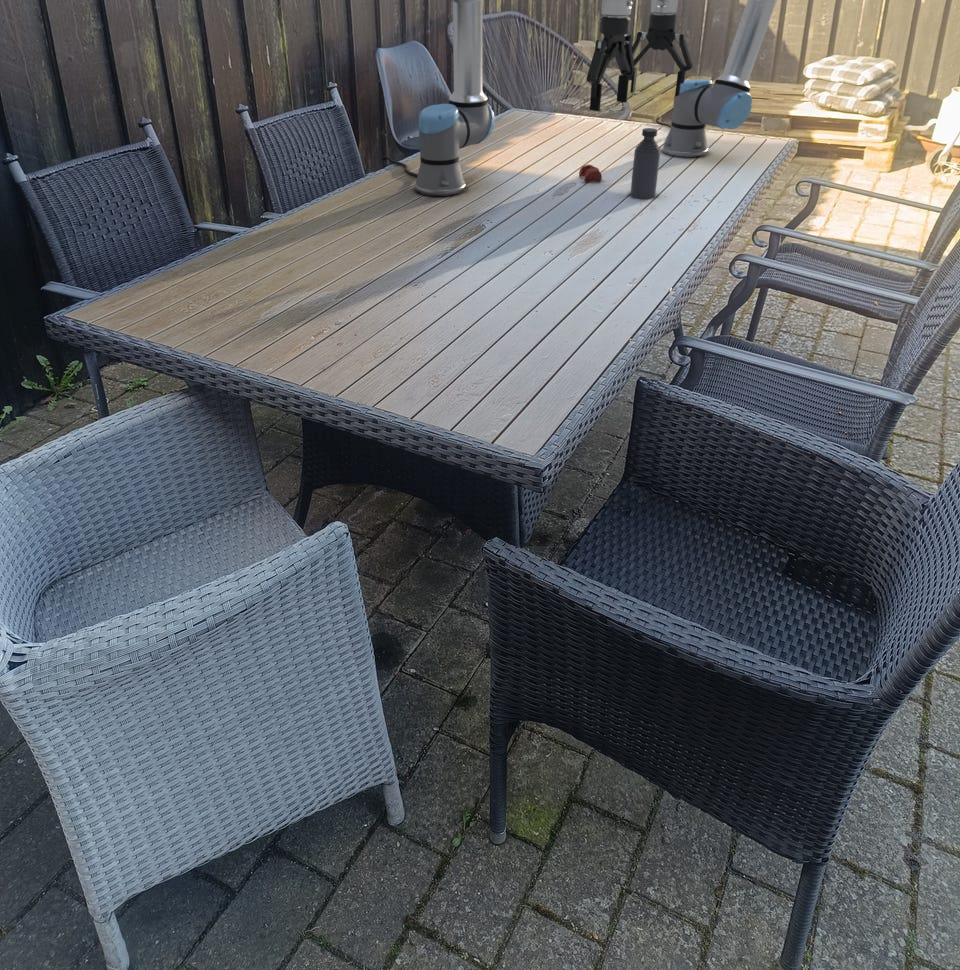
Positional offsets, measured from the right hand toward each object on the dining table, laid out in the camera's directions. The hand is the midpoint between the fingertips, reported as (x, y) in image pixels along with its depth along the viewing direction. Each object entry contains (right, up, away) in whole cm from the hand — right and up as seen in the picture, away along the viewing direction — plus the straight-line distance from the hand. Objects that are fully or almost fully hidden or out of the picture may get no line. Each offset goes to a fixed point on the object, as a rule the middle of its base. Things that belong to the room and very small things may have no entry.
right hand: (654, 93), depth 254 cm
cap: (-4, -16, -10) cm, 19 cm away
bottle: (-4, -30, +1) cm, 31 cm away
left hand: (-18, -16, -28) cm, 37 cm away
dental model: (-18, -21, +14) cm, 31 cm away
